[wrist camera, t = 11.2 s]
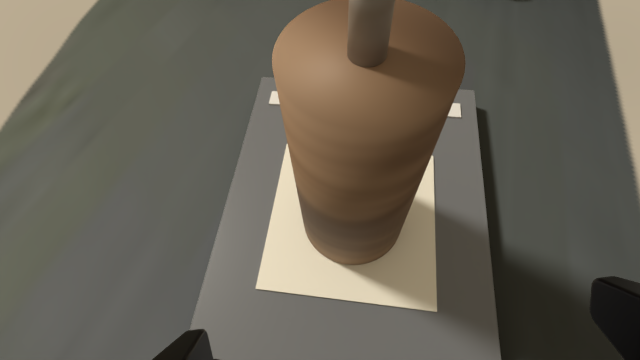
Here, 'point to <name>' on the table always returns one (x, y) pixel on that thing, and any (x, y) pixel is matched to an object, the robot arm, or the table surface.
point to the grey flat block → (351, 280)
